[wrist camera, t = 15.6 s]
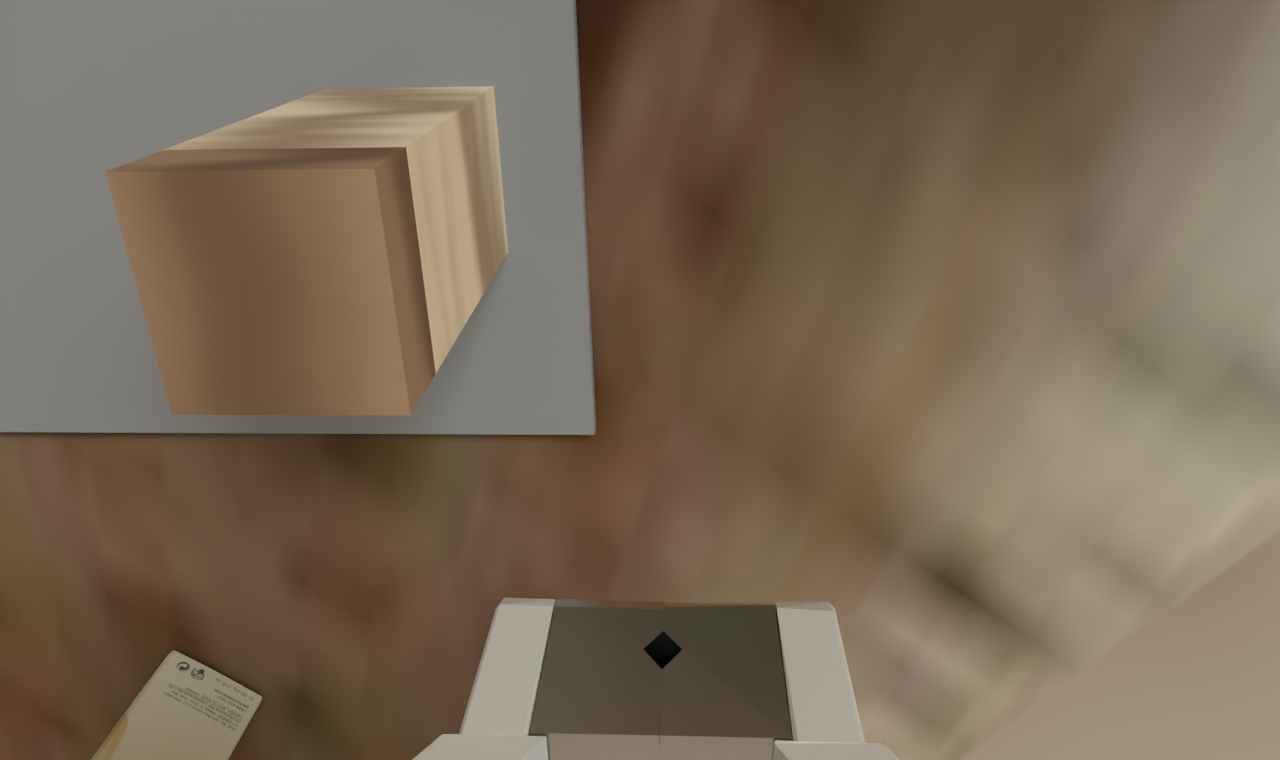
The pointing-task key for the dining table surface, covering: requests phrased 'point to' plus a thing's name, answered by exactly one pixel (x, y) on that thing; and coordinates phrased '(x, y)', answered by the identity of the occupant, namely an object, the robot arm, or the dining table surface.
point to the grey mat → (233, 91)
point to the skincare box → (182, 715)
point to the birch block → (317, 250)
